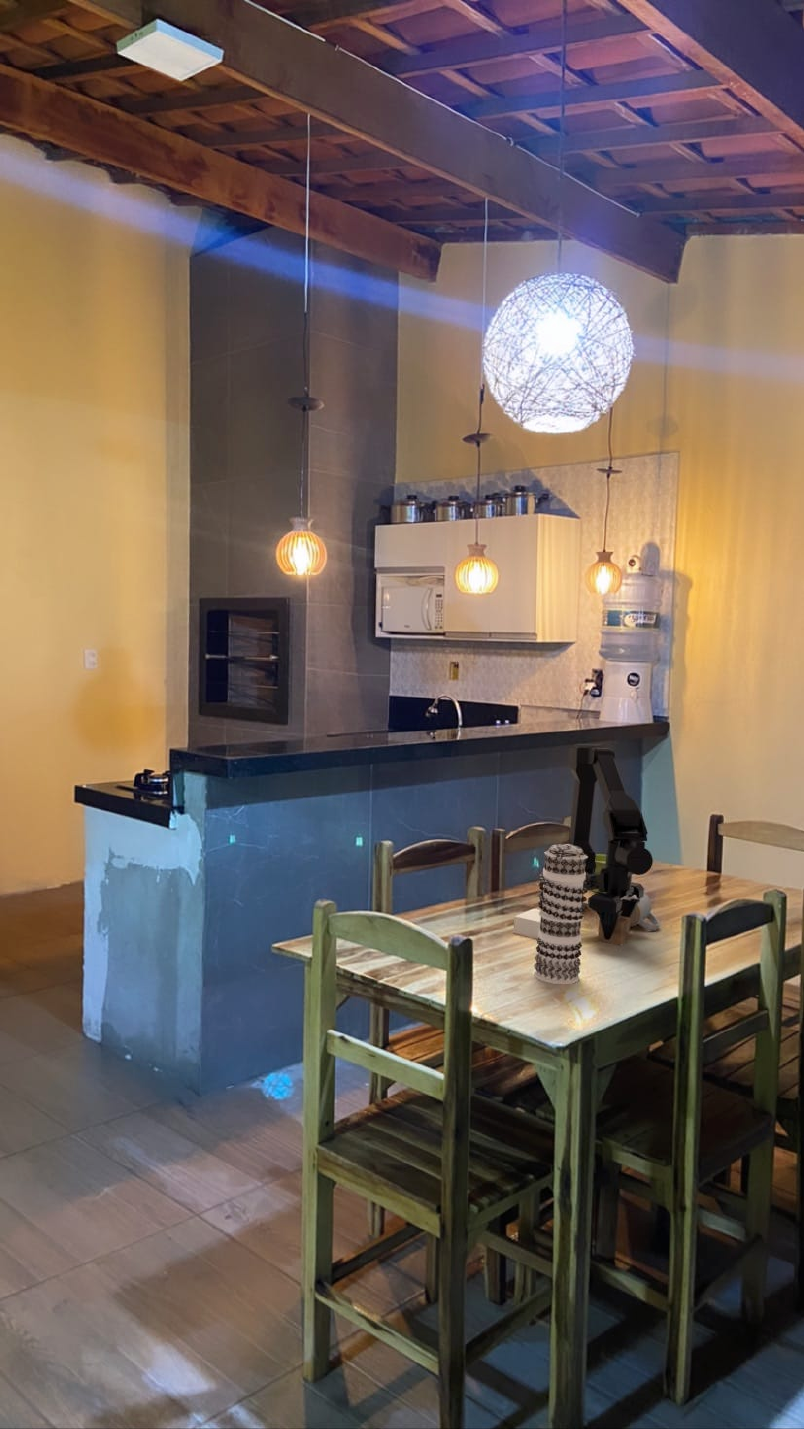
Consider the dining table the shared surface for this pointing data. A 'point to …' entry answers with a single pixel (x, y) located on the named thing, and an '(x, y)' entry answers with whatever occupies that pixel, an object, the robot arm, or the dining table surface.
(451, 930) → the dining table surface
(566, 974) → the decorative candle
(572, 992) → the dining table surface
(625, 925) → the walnut cube
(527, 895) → the dining table surface
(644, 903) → the ceramic mug
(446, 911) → the dining table surface
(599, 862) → the plant pot
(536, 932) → the cream block
